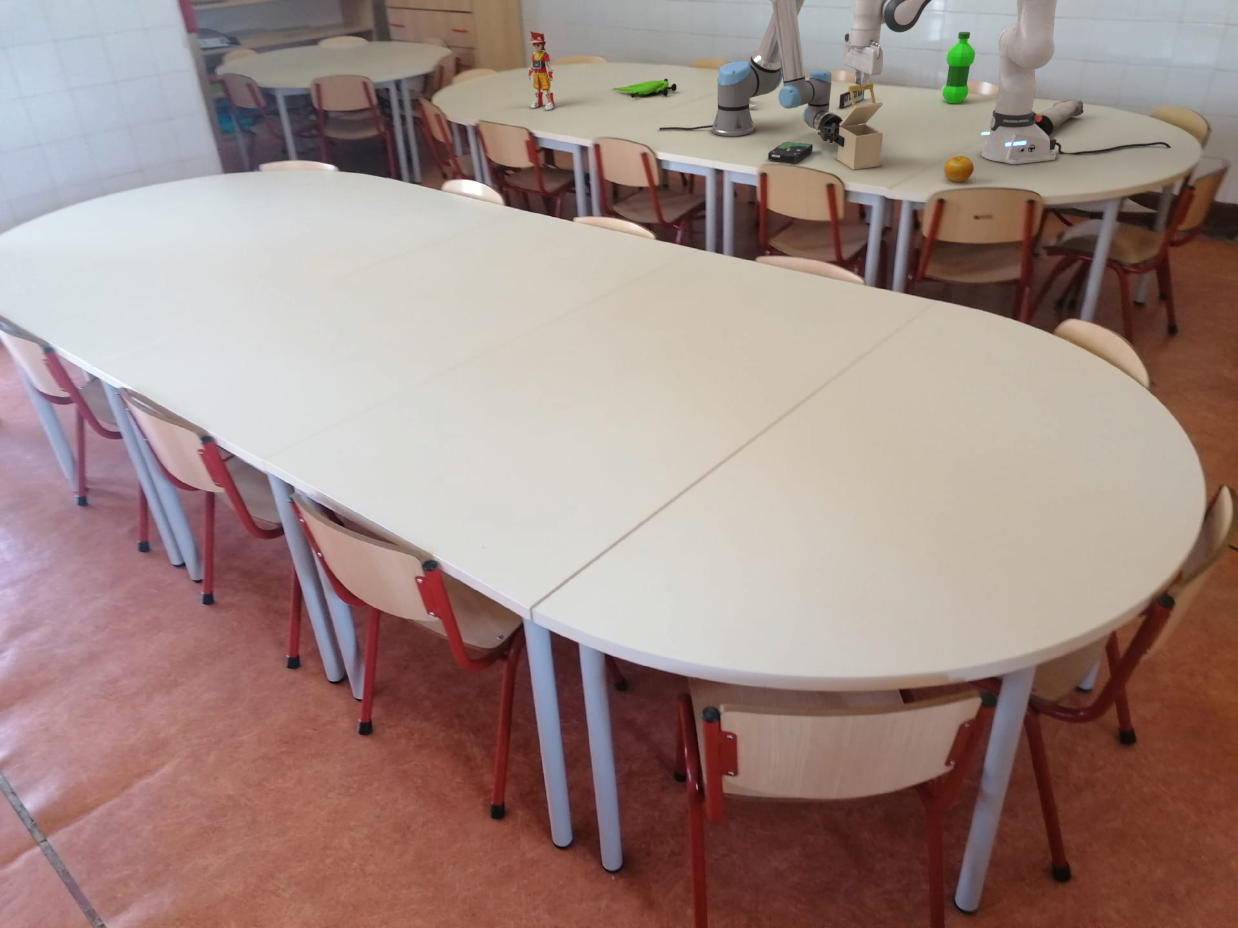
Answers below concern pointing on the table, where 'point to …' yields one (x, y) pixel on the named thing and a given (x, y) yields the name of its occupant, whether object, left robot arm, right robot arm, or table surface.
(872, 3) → the right robot arm
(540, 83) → the toy
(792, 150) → the disk drive
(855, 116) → the lid
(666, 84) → the toy
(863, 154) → the chest
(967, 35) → the plastic bottle
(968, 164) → the fruit
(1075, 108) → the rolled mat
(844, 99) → the midi keyboard
